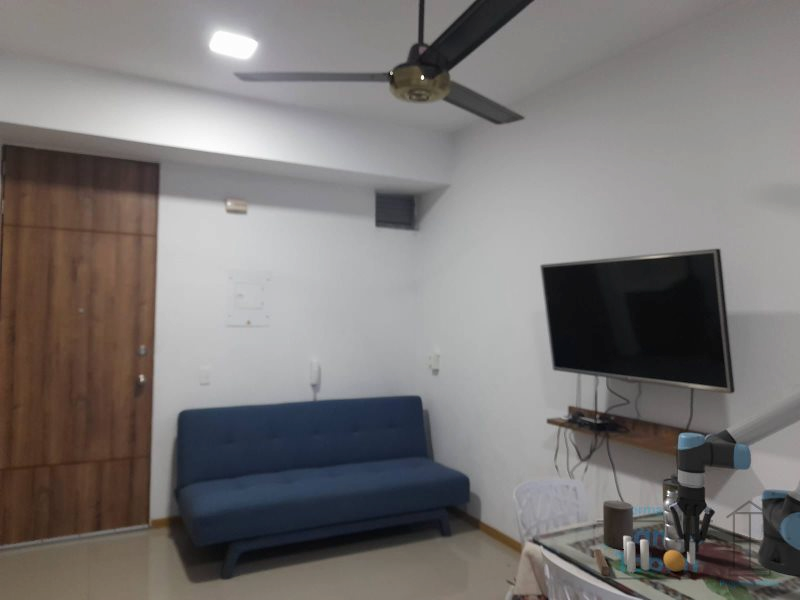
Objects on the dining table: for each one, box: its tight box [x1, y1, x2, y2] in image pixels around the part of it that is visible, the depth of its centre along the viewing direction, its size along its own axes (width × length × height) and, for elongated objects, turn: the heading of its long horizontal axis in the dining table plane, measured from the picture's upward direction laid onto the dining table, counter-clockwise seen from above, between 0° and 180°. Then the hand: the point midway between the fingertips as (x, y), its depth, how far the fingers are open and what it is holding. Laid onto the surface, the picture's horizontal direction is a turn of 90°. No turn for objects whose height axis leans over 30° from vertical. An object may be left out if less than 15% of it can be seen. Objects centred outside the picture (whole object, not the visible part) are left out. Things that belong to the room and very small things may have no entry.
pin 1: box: [623, 536, 632, 566], centre depth 179 cm, size 2×2×8 cm
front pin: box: [639, 538, 650, 571], centre depth 176 cm, size 2×2×8 cm
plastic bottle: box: [662, 490, 686, 554], centre depth 189 cm, size 6×7×20 cm
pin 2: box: [626, 541, 637, 574], centre depth 174 cm, size 2×2×8 cm
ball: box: [663, 550, 686, 572], centre depth 174 cm, size 6×6×6 cm
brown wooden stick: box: [593, 548, 609, 576], centre depth 178 cm, size 2×14×2 cm, turn 170°
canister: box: [661, 472, 692, 534], centre depth 211 cm, size 11×10×20 cm
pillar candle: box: [602, 499, 634, 550], centre depth 196 cm, size 10×10×15 cm
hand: (691, 562), depth 173 cm, fingers closed
